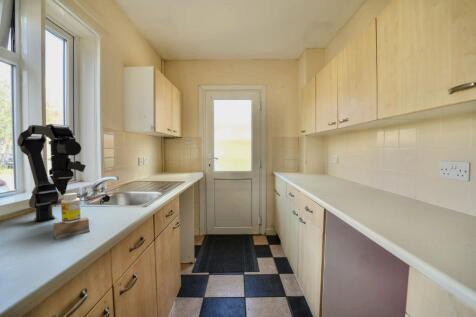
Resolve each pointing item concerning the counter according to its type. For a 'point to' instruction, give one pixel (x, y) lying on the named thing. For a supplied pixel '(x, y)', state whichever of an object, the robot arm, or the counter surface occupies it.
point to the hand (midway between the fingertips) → (61, 193)
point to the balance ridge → (71, 228)
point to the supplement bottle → (70, 208)
